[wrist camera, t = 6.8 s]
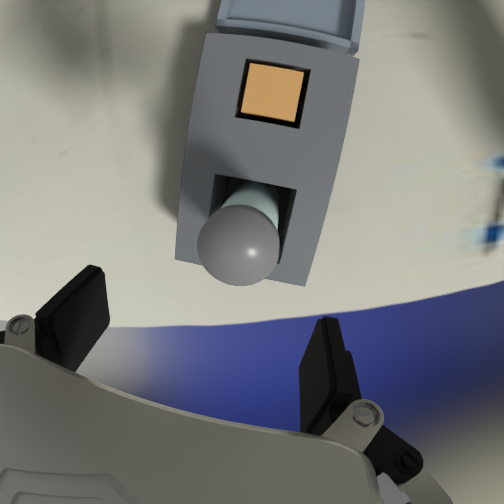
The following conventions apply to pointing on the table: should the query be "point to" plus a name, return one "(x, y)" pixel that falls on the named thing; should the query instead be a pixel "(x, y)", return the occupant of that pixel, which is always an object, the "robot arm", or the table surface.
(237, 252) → the cylinder
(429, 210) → the table surface
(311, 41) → the tray
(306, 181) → the block
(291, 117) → the tan cardboard cube
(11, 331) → the robot arm
